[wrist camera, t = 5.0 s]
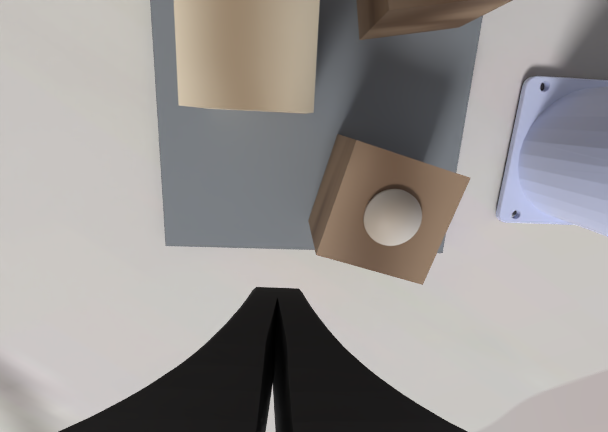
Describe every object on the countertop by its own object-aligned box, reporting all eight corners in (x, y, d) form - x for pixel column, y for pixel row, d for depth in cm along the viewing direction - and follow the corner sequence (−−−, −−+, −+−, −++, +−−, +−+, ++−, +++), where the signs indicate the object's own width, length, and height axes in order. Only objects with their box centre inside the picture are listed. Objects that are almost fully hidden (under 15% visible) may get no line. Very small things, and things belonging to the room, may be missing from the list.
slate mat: (493, -86, 16) (501, -93, 16) (438, 249, 21) (442, 253, 20) (147, -118, 15) (142, -127, 15) (169, 242, 20) (165, 245, 19)
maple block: (311, 4, 17) (321, -41, 12) (305, 113, 18) (313, 112, 13) (204, -4, 16) (171, -54, 11) (207, 108, 18) (178, 105, 13)
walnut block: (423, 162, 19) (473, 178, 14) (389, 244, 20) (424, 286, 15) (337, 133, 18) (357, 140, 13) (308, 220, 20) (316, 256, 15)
